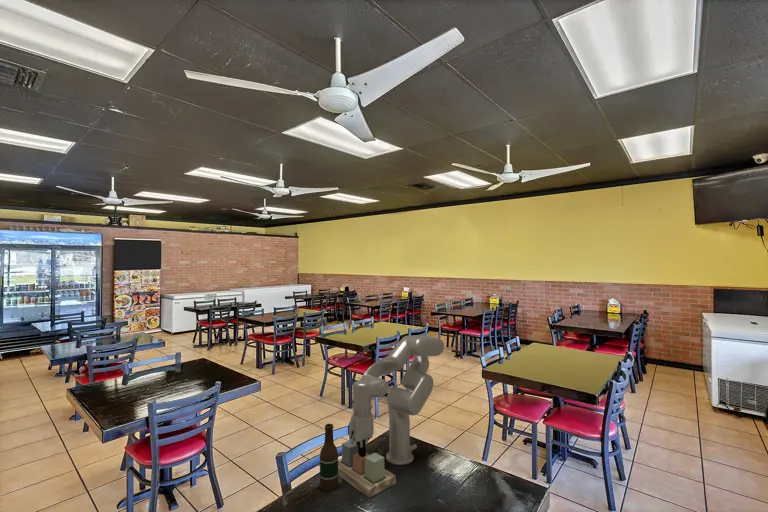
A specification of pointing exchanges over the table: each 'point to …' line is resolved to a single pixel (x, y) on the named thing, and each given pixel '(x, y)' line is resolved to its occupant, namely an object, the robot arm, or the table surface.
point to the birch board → (365, 480)
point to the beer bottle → (328, 461)
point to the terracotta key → (359, 464)
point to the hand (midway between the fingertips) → (362, 455)
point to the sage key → (374, 467)
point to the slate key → (348, 453)
